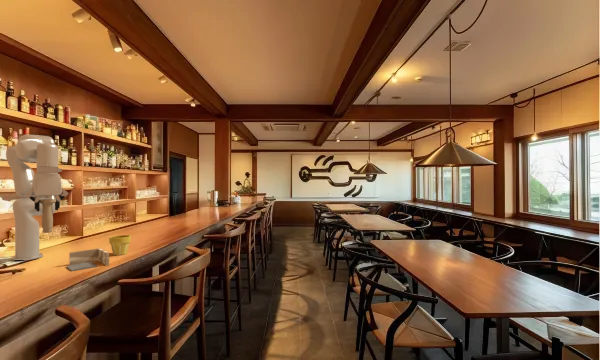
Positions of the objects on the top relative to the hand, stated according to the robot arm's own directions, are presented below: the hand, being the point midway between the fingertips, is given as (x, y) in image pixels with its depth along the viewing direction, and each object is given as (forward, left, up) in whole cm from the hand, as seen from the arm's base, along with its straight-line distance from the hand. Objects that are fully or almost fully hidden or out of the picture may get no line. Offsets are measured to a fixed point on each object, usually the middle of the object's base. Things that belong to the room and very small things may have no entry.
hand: (47, 210), depth 140 cm
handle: (0, 0, -10) cm, 10 cm away
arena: (+4, +15, -27) cm, 31 cm away
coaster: (+5, +12, -27) cm, 30 cm away
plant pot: (-10, +33, -27) cm, 44 cm away
